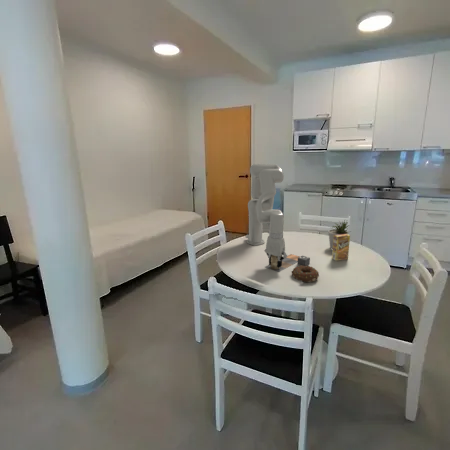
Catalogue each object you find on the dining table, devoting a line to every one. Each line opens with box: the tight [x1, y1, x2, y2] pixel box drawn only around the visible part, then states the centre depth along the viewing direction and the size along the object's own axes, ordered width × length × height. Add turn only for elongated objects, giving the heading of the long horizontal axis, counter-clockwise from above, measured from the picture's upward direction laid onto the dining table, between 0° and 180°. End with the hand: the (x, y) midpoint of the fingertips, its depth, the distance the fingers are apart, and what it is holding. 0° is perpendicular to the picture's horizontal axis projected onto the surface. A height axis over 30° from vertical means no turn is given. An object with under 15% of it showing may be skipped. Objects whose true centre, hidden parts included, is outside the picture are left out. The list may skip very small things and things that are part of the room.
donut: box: [290, 265, 320, 283], centre depth 155 cm, size 14×14×5 cm
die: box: [297, 255, 311, 266], centre depth 171 cm, size 5×5×5 cm
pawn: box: [270, 255, 280, 270], centre depth 165 cm, size 5×5×10 cm
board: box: [264, 253, 300, 273], centre depth 174 cm, size 10×28×1 cm, turn 135°
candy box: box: [331, 234, 351, 261], centre depth 178 cm, size 9×4×15 cm, turn 107°
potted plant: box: [327, 219, 352, 250], centre depth 195 cm, size 13×14×20 cm
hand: (275, 265), depth 166 cm, fingers closed on pawn, 4 cm apart
